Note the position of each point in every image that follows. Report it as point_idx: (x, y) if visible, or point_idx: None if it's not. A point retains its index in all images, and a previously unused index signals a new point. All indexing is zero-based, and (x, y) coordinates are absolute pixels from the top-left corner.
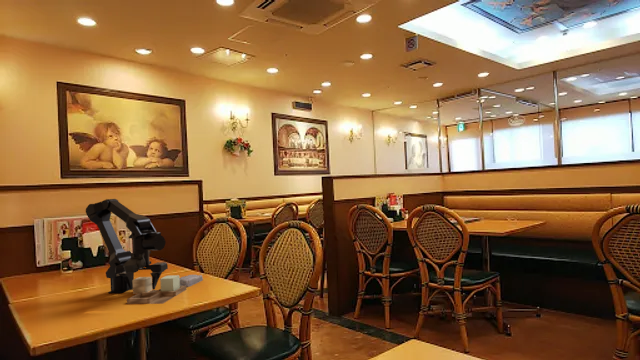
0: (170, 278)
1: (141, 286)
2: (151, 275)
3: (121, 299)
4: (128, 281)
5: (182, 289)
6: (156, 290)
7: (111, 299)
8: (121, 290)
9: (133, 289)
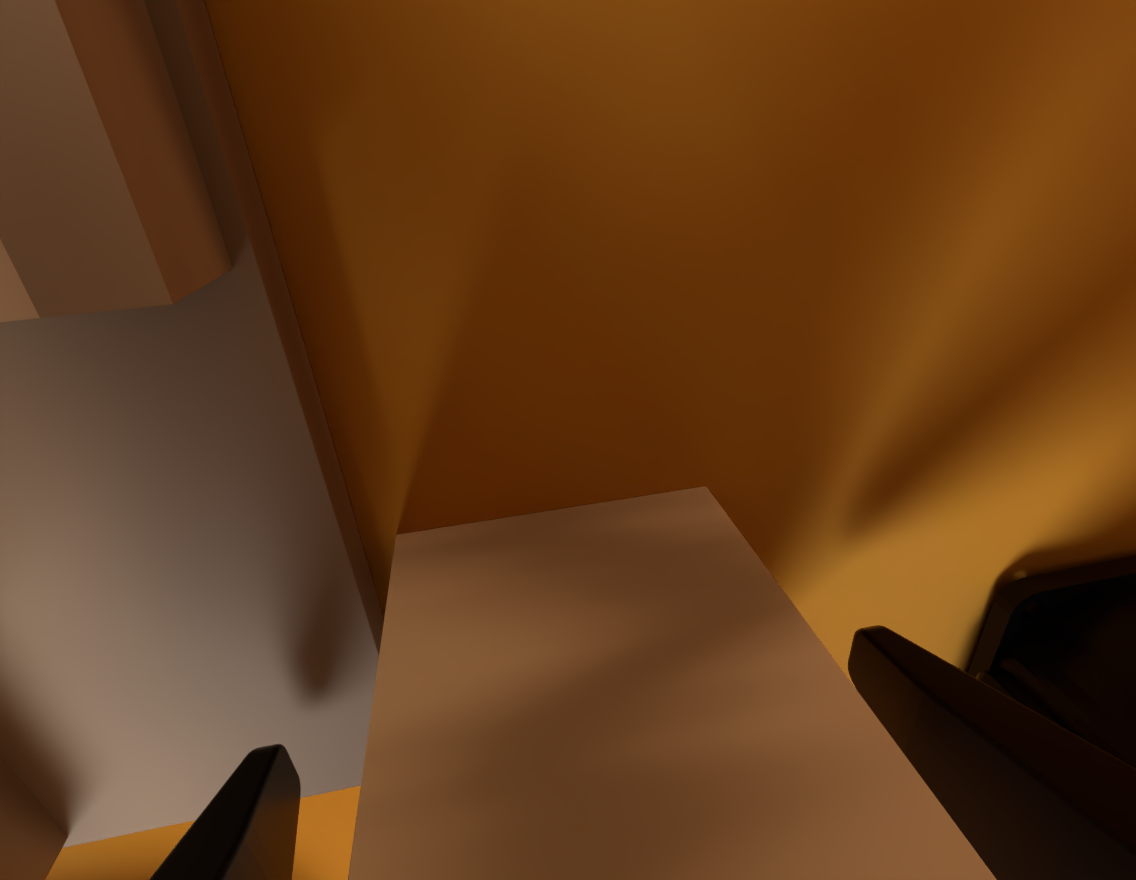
0: None
1: (504, 708)
2: None
3: (836, 143)
4: (1127, 819)
5: None
6: None
7: (1110, 137)
8: (1073, 636)
9: (757, 585)
